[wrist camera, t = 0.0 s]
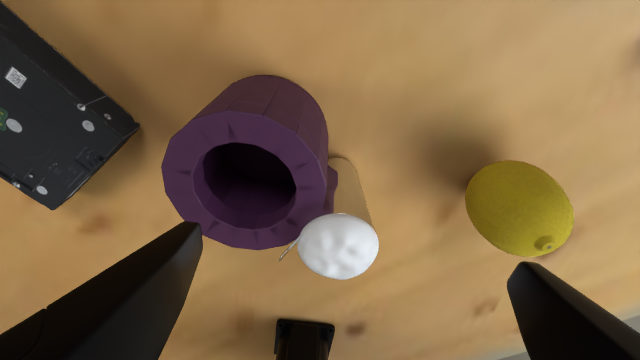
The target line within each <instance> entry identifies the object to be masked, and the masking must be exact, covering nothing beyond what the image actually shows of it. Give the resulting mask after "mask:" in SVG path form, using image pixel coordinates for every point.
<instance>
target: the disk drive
mask: <svg viewBox="0 0 640 360" xmlns="http://www.w3.org/2000/svg"><path fill="white" fill-rule="evenodd" d="M139 128H140V124H139V123H137V122H135V121H134V120H133V118H132V116H131V115H130V114H129V113H127V112H126V111H125V110H124V109H123V108H122V107H121V106H120V105H118V104H117V103H116V102H115V101H114V100H113V99H112V98H110V97H109V96H108V95H107V94H106V93H105V92H104V91H102V90H101V89H100V88H99V87H98V86H97V85H96V84H94V83H93V82H92V81H91V80H90V79H89V78H88V77H87V76H85V75H84V74H83V73H82V72H81V71H80V70H78V69H77V68H76V67H75V66H74V65H73V64H72V63H71V62H69V61H68V60H67V59H66V58H65V57H64V56H63V55H61V54H60V53H59V52H58V51H57V50H55V49H54V48H53V47H52V46H51V45H50V44H48V43H47V42H46V41H45V40H44V39H42V38H40V37H39V36H38V34H37V33H35V32H34V31H32V30H31V29H30V27H29V26H28V25H27V24H26V23H25V22H24V21H23V20H21V19H20V18H19V17H18V16H17V15H16V14H15V13H13V12H12V11H11V10H10V9H9V8H7V7H6V6H5V5H4V4H3V3H2V2H1V1H0V177H1V178H3V179H4V180H5V181H7V182H9V183H10V184H12V185H13V186H15V187H16V188H18V189H19V190H20V191H22V192H23V193H24V194H26V195H28V196H29V197H31V198H32V199H34V200H36V201H37V202H39V203H40V204H43V205H45V206H46V207H47V208H49V209H50V210H55V209H56V208H57V207H59V206H60V205H62V204H63V203H64V202H65V201H67V200H68V199H69V198H70V197H72V196H73V195H74V194H75V193H76V192H77V191H78V190H79V189H80V188H81V186H83V185H84V184H85V183H86V182H87V181H88V180H89V179H90V178H91V177H92V176H93V175H94V174H95V173H96V172H97V171H98V170H99V169H100V168H101V167H102V166H103V165H104V164H105V163H106V162H107V161H108V160H109V159H110V158H111V157H112V156H113V155H114V154H115V153H116V152H117V151H118V150H119V149H120V148H121V147H122V146H123V145H124V144H125V143H126V141H127V140H128V139H129V138H130V137H131V136H132V135H133V134H134V133H135V132H136V131H137V130H138V129H139Z"/></svg>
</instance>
